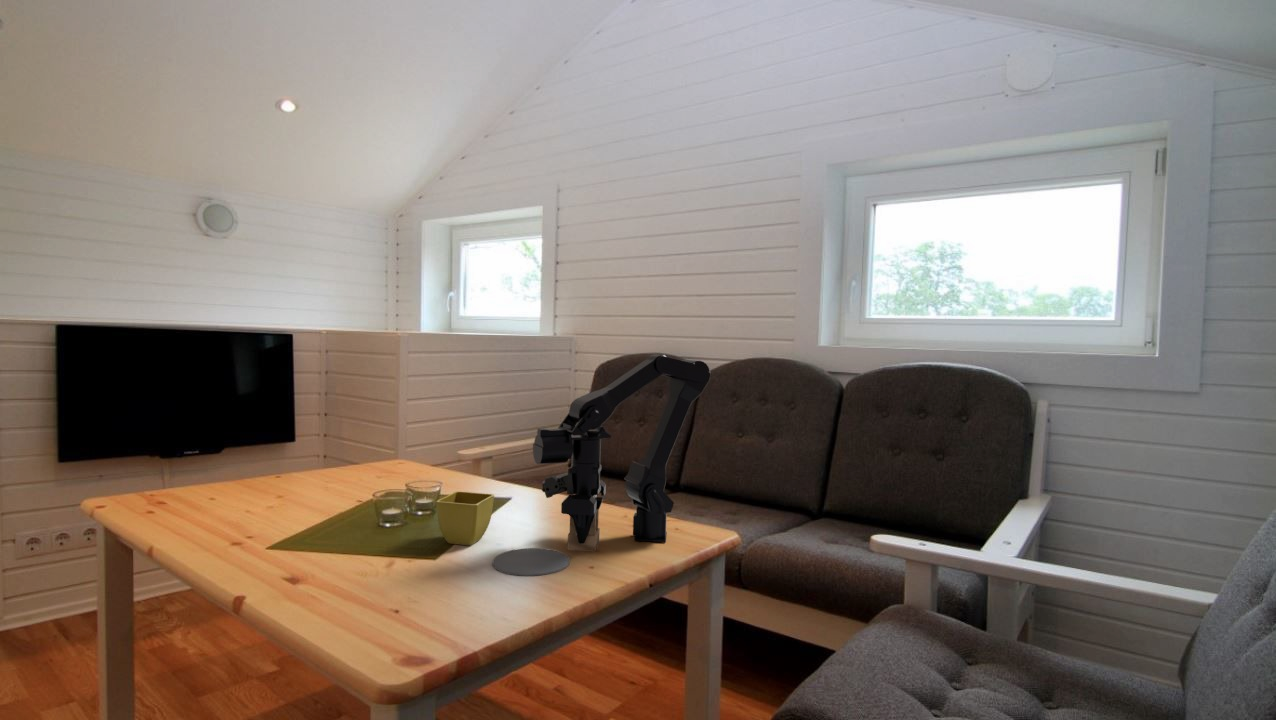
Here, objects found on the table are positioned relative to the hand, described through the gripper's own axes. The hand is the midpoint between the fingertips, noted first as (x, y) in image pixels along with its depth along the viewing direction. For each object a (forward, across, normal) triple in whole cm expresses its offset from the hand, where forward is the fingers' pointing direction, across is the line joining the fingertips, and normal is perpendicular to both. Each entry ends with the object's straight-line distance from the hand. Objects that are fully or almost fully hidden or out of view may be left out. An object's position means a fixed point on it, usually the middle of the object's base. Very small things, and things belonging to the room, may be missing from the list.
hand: (583, 538), depth 134 cm
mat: (+2, +11, -8) cm, 14 cm away
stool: (+2, 0, 0) cm, 2 cm away
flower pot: (+2, +1, -24) cm, 24 cm away
